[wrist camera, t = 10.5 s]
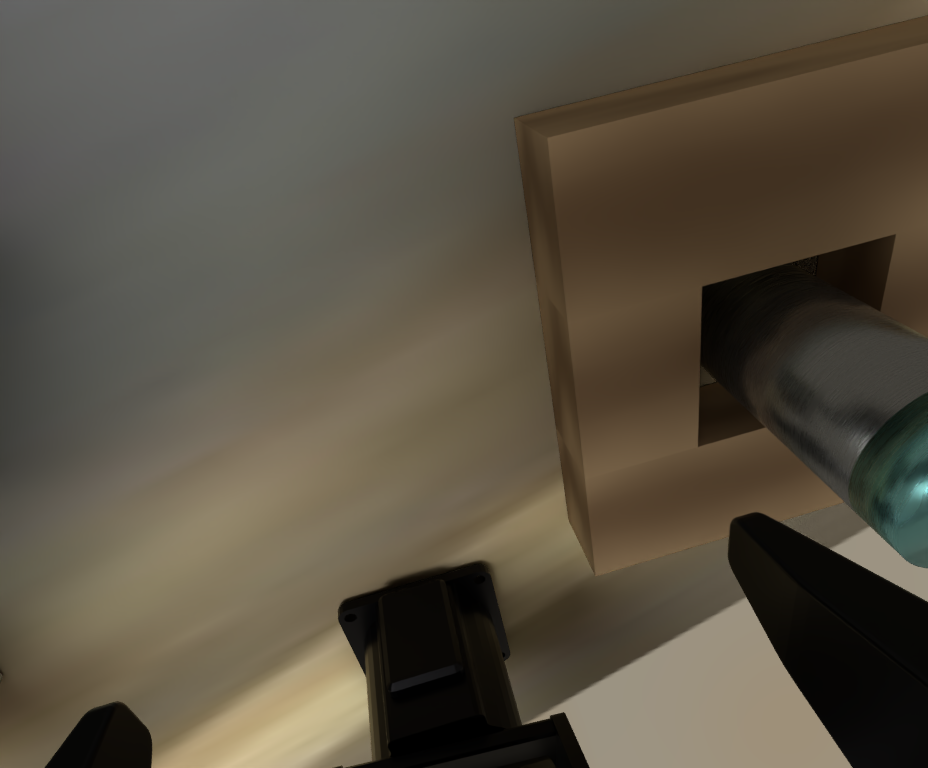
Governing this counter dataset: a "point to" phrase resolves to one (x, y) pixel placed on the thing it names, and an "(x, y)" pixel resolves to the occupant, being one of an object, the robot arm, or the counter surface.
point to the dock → (712, 267)
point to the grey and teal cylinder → (830, 390)
